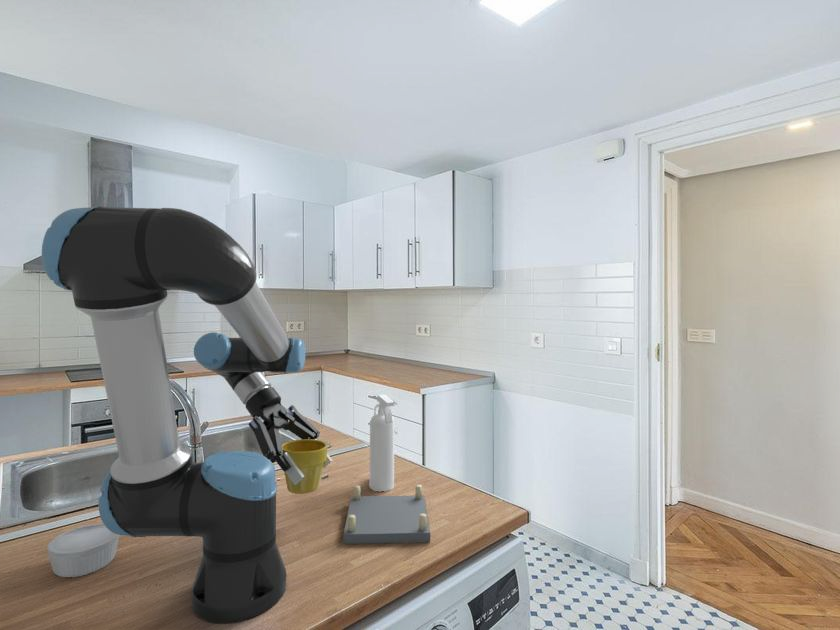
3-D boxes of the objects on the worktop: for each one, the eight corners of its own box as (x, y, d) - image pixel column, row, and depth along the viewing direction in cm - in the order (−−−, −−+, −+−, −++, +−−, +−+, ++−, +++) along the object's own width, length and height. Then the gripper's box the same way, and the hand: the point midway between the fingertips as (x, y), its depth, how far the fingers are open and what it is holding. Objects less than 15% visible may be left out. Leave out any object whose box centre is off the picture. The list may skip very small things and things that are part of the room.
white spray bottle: (384, 474, 131) (384, 388, 129) (401, 492, 120) (401, 399, 118) (362, 478, 128) (361, 391, 126) (377, 497, 118) (376, 402, 116)
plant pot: (325, 477, 109) (325, 437, 109) (328, 495, 99) (329, 450, 99) (279, 481, 107) (280, 440, 106) (278, 499, 97) (279, 453, 96)
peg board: (430, 542, 96) (430, 518, 96) (343, 543, 95) (343, 520, 94) (424, 503, 114) (424, 483, 113) (351, 504, 113) (351, 484, 112)
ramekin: (109, 541, 95) (109, 516, 94) (129, 562, 87) (129, 535, 87) (40, 566, 86) (39, 538, 86) (56, 590, 79) (55, 560, 79)
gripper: (280, 397, 119) (332, 466, 113) (211, 416, 98) (270, 502, 92) (298, 378, 117) (351, 447, 111) (231, 394, 96) (292, 479, 90)
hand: (314, 472), depth 102 cm, fingers closed on plant pot, 10 cm apart
